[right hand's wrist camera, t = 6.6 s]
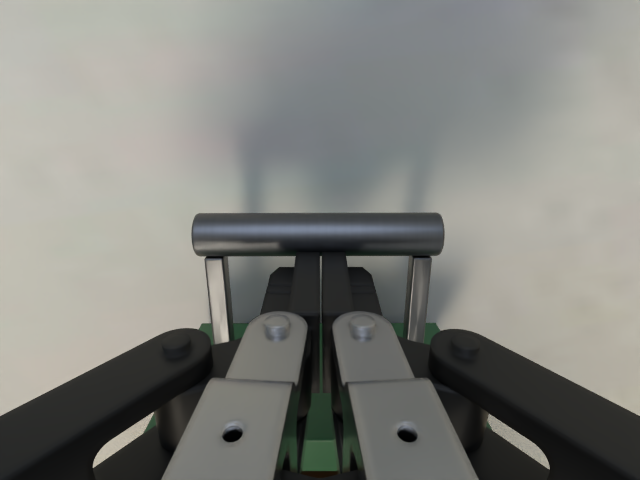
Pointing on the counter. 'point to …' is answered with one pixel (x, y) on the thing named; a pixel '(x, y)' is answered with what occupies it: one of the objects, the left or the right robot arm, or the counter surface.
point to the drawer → (320, 236)
